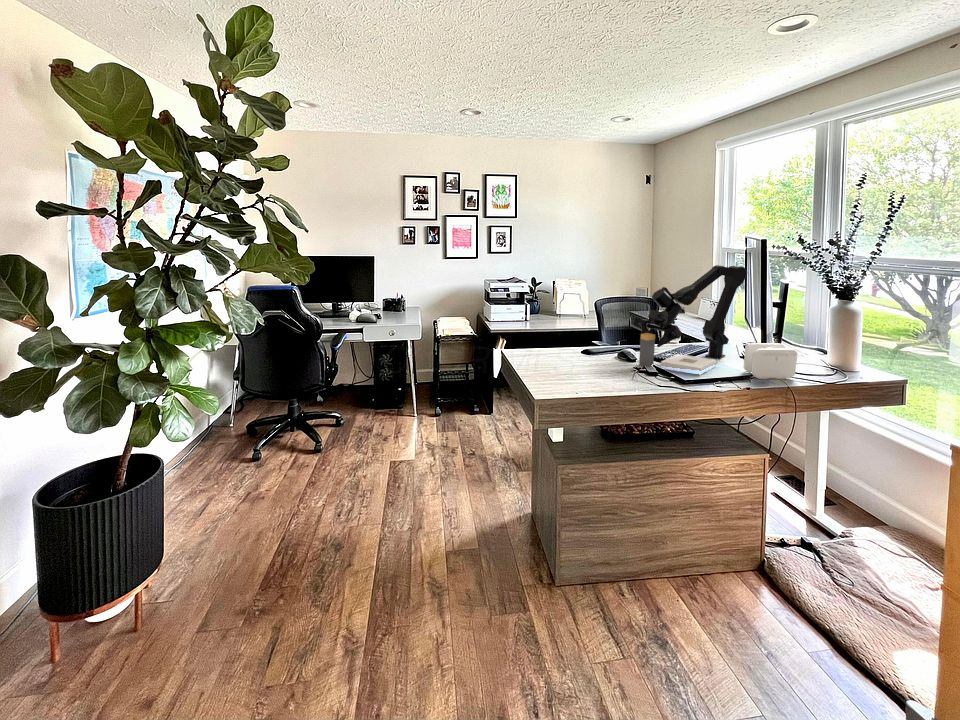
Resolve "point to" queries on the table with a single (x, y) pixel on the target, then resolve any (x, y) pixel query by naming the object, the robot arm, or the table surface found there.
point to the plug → (647, 349)
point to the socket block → (688, 362)
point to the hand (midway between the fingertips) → (648, 344)
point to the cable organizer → (770, 360)
